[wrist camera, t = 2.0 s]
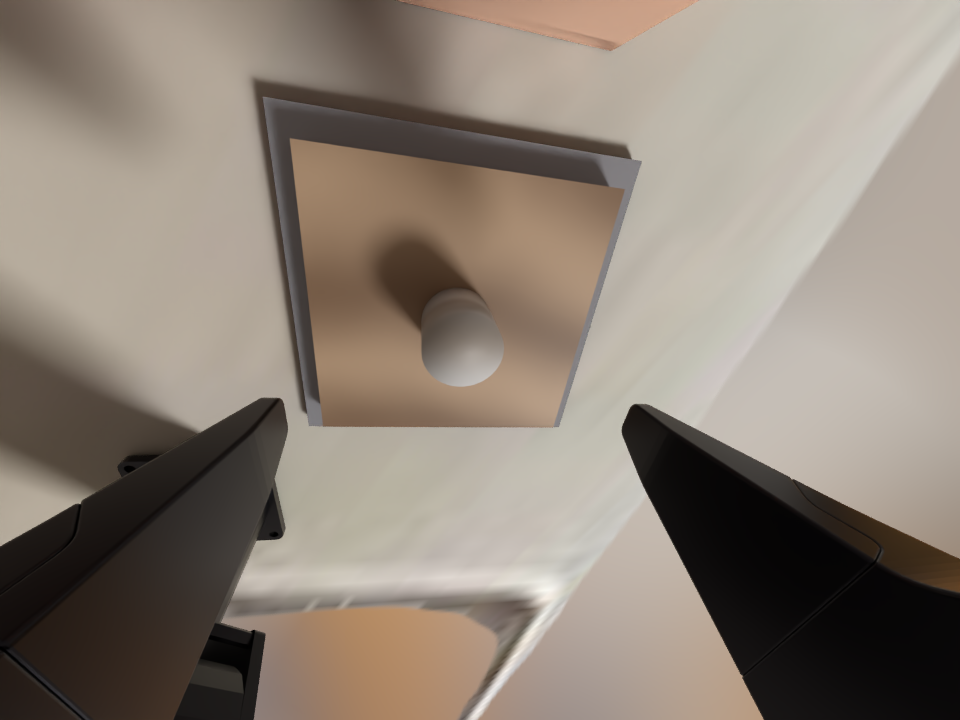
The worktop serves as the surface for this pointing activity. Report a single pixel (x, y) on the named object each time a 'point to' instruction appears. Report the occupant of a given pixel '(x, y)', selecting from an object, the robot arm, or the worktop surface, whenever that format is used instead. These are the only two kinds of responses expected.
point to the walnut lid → (444, 286)
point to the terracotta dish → (568, 16)
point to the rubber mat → (426, 144)
